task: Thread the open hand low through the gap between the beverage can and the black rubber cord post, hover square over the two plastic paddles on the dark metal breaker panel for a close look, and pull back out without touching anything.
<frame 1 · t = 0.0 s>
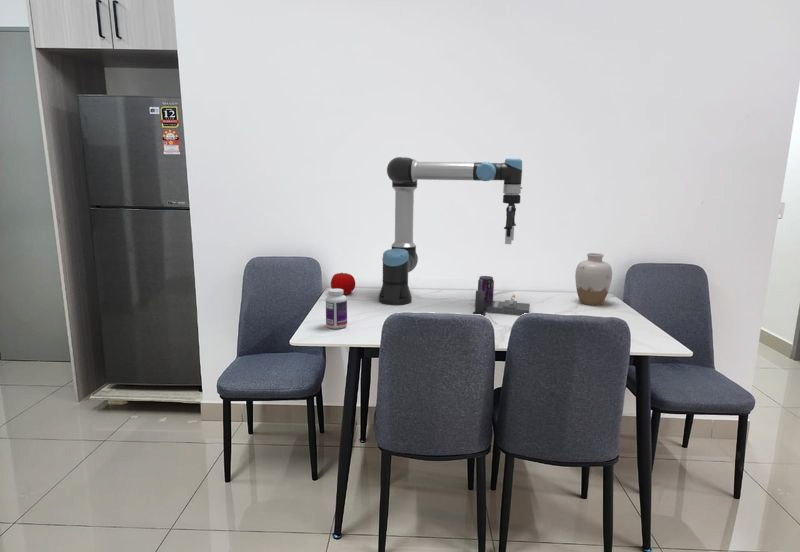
hand: (509, 242, 239), 28 cm above the table, fingers open, 13 cm apart
pill bottle: (336, 327, 204), on the table
beverage can: (485, 303, 244), on the table
tomato: (342, 294, 258), on the table
vase: (591, 303, 247), on the table
breaker panel: (502, 310, 231), on the table
paddle b: (513, 297, 232), point 5 cm above the table, hinge at 25.0°
cord post: (479, 314, 224), on the table
paddle a: (512, 300, 227), point 5 cm above the table, hinge at 25.0°
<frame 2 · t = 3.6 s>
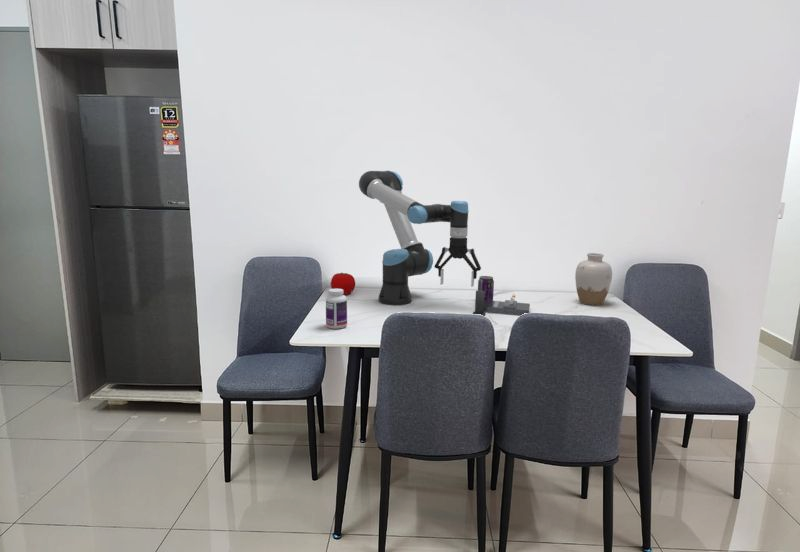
hand: (457, 285, 235), 10 cm above the table, fingers open, 13 cm apart
nothing on the table moved.
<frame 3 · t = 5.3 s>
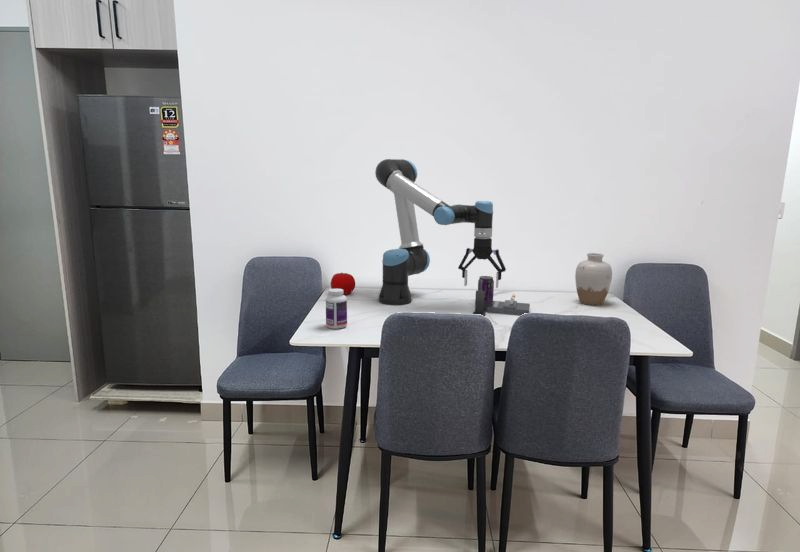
hand: (481, 286, 232), 10 cm above the table, fingers open, 13 cm apart
nothing on the table moved.
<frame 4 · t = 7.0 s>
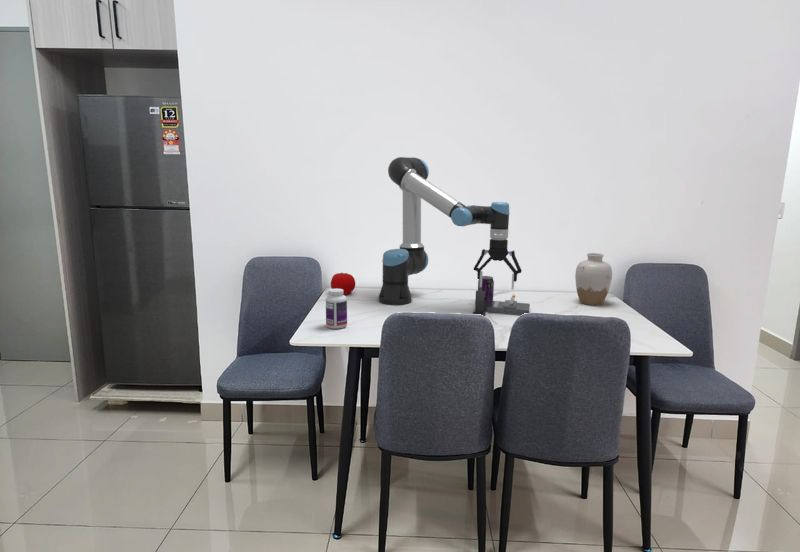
hand: (496, 287, 230), 10 cm above the table, fingers open, 13 cm apart
nothing on the table moved.
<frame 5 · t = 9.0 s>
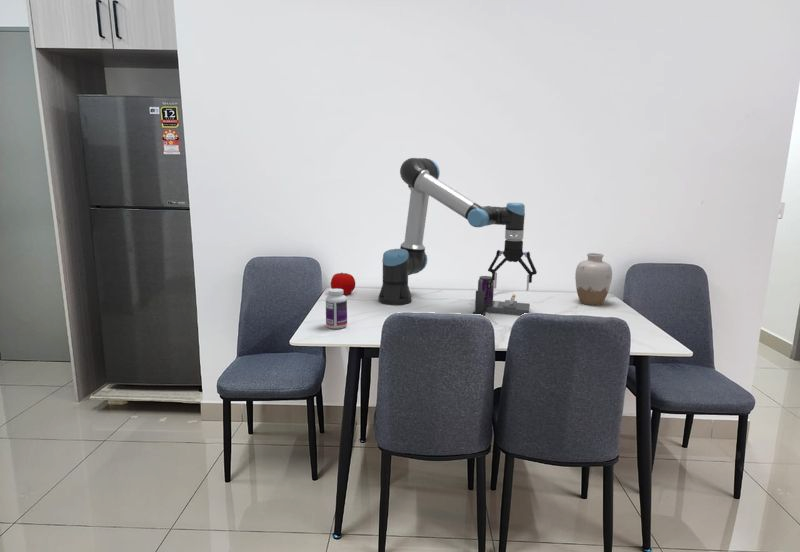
hand: (511, 289, 229), 10 cm above the table, fingers open, 13 cm apart
nothing on the table moved.
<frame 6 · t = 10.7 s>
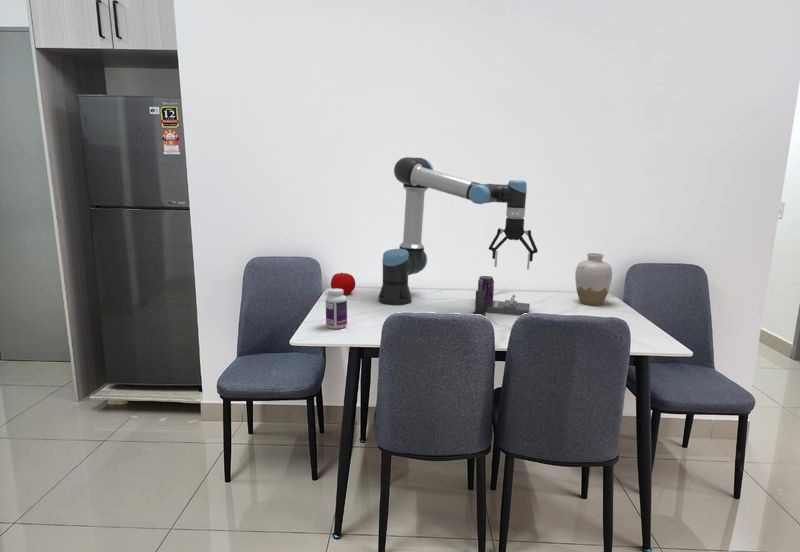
hand: (511, 267, 227), 19 cm above the table, fingers open, 13 cm apart
nothing on the table moved.
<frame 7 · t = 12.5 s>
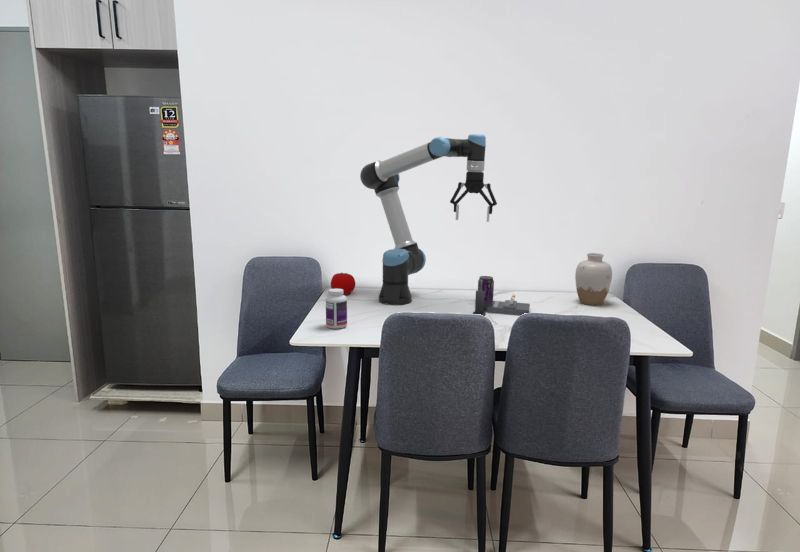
hand: (472, 220, 234), 38 cm above the table, fingers open, 13 cm apart
nothing on the table moved.
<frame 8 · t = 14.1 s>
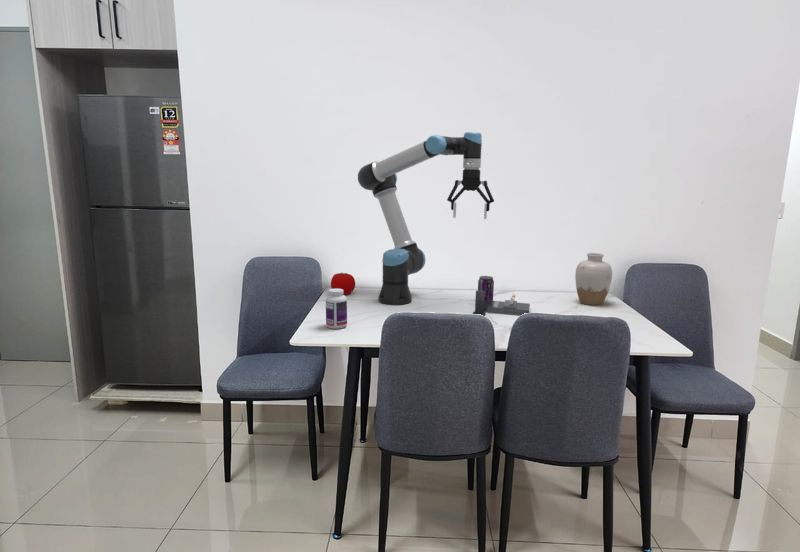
hand: (469, 218, 235), 39 cm above the table, fingers open, 13 cm apart
nothing on the table moved.
at the end: beverage can moved 0.2 cm from its start; paddle a at +25° (first picture: +25°); paddle b at +25° (first picture: +25°) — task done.
